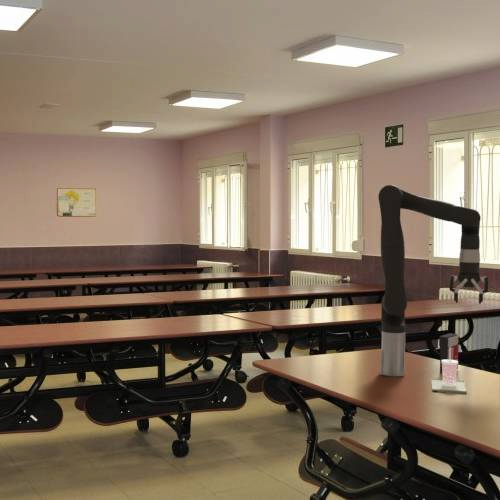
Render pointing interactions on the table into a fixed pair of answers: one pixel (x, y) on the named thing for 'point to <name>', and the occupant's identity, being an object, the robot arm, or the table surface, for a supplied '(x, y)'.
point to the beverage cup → (449, 371)
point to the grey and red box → (445, 344)
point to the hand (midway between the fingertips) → (468, 303)
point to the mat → (438, 386)
